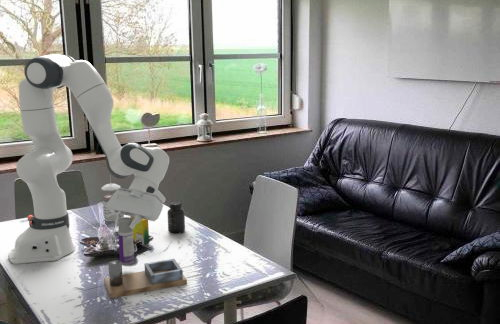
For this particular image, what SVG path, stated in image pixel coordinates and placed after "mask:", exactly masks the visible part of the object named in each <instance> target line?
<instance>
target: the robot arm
mask: <svg viewBox="0 0 500 324" xmlns="http://www.w3.org/2000/svg"><path fill="white" fill-rule="evenodd" d="M63 87H67V88H68V89H69V90H70V91H71V93H72V94H73V96H74V98H75V99H76V101H77V103H78V105H79V107H80V108H81V110H82V111H83V113H84V115H85V117H86V119H87V121H88V123H89V125H90V128H91V130H92V131H93V134H94V136H95V137H96V139H97V141H98V144H99V145H100V147H101V150H102V152H103V154H104V156H105V160H106V167H107V170H108V172H109V174H110V175H112V176H113V177H114V178H117V179H124V180H125V179H127V178H129V177H131V176H132V175H134V178H133V180H132V181H131V184H130V185H129V188H128V187H127V188H126V187H122V186H121V187H120V189H117V190H115V192H114V193H112V194H113V196H112V197H111V198H110V200H109V201H108V203H107V208H108V209H109V210H110V211H111V212H114V213H117V220H116V221H114V224H115V226H117V227H118V219H120V218H121V217H123V216H124V217H125V216H127V217H130V216H132V217H134V218H135V219H134V220H133V221H132V222H130V224H129V225H128V227H129V228H130V229H134V227H135V225H137V224H138V223H139V222H140V221H141V219H146V220H148V221H150V222H155V221H156V220H158V219H159V218H160V216H161V213H162V211H163V208H164V204H165V202H166V200H167V198H166V197H165V196H164V194H163V193H162V192H161V191H160V190H159V185H160V183H161V182H162V181H163V179H164V177H165V176H166V173H167V171H168V168H169V164H170V156H169V155H168V153H167V152H166V151H165V150H164V149H162V148H160V147H156V146H153V147H147V146H144V145H141V144H139V143H137V142H129V143H127V144H124V145H123V146H122V145H121V143H120V141H119V139H118V137H117V135H116V133H115V131H114V129H113V128H112V123H111V116H112V111H113V107H114V99H113V95H112V93H111V91H110V89H109V87H108V85H107V83H106V82H105V81H104V78H103V77H102V76H101V74H100V73H99V72H98V70H97V69H96V68H95V67H94V66H93V65H92V64H91V63H90V62H89V61H88V60H83V59H80V60H76V59H75V58H73V57H72V56H70V55H67V54H64V53H62V54H57V53H56V54H55V53H53V54H52V53H51V54H47V55H41V56H40V55H39V56H36V57H33V58H31V59H29V60H28V62H27V63H26V64H25V67H24V78H23V79H22V80H21V81H19V85H18V102H19V110H20V116H21V123H22V128H23V132H24V134H25V135H26V136H28V137H29V139H30V140H31V142H32V144H33V146H34V149H35V150H32V151H29V152H27V153H25V155H23V156H22V157H21V158H20V159H18V161H17V163H16V169H15V170H16V174H17V175H18V177H19V179H20V180H21V181H23V182H24V183H25V184H26V185H27V187H28V189H29V192H30V193H31V194H30V195H31V198H32V203H33V213H34V215H32V214H29V215H28V216H27V221H28V226H29V227H28V228H26V229H25V230H24V231H23V232H21V234H19V235H18V236H17V238H16V239H15V242H14V248H12V249H11V250H10V251H9V252H8V260H9V261H10V263H12V264H17V265H18V264H28V263H39V262H51V261H58V260H60V259H62V258H63V257H64V256H67V255H69V254H72V252H74V250H75V245H74V243H73V240H72V236H71V232H70V215H69V213H68V209H67V199H66V193H65V191H64V189H62V188H61V187H60V186H59V183H58V180H57V176H58V175H59V174H61V173H63V172H65V171H66V170H67V169H68V168H69V167H71V165H72V163H73V160H74V155H73V152H72V150H71V148H69V147H68V146H67V145H66V144H65V142H64V140H63V138H62V136H61V133H60V130H59V127H58V124H57V123H58V122H57V116H56V109H55V105H54V99H53V93H54V91H55V90H56V89H61V88H63Z"/></svg>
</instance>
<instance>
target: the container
mask: <svg viewBox="0 0 500 324" xmlns="http://www.w3.org/2000/svg"><path fill="white" fill-rule="evenodd" d="M130 222H132V218H130V216H124V217H123V218H120V219H118V226H117V227H118V229H117V230H118V231H117V233H118V247H119V248H118V249H119V253H118V254H119V261H121V262H122V265H130V264H133V263H134V262H135V252H134V251H135V250H134V246H135V245H134V242H133V229H130V228H129V227H128V225H129V224H130Z"/></svg>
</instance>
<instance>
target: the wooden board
mask: <svg viewBox="0 0 500 324" xmlns="http://www.w3.org/2000/svg"><path fill="white" fill-rule="evenodd" d="M143 264H144V266H143V267H144V270H142V271H135V272H130V273H124V274H123V284H122V285H121V286H118V287H113V286H110V279H109V276H107V277H106V276H105V277H103V283H104V285H105V288H106V292H107V294H108V297H109V299H114V298H115V299H116V298H119V297H123V296H124V297H125V296H130V295H136V294H140V293H146V292H151V291H152V292H153V291H158V290H162V289H163V290H164V289H167V288H171V287H177V286H183V285H188V282H187V281H188V279H187V278H186V277H185V275H184V273H183V272H184V271H183V268H182V267H181V266H180V265H179V263H178V262H177V260H176V258H170V259H163V260H158V261H152V262H147V263H143Z"/></svg>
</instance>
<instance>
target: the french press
mask: <svg viewBox="0 0 500 324" xmlns="http://www.w3.org/2000/svg"><path fill="white" fill-rule="evenodd" d="M111 175H112V174H109V179H110V183H107V184H104V185H103V186H101V191H105V192H111V194H106V195H103V196H102V197H103V199H102V206H103V207H102V209H103V216H104V218H105V220H106V221H105V222H116V220H117V213H114V212H111V211H110V210H109V209H108V208H107V203H108V201H109V200H110V198H111V197H112V196H113V194H114V193H113V192H114V191H116V190H117V189H120V188H121V185H119V184H117V183H112V181H111V179H112V178H111V177H112V176H111ZM123 217H125V215H124V216H123ZM123 217H121V218H123Z"/></svg>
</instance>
